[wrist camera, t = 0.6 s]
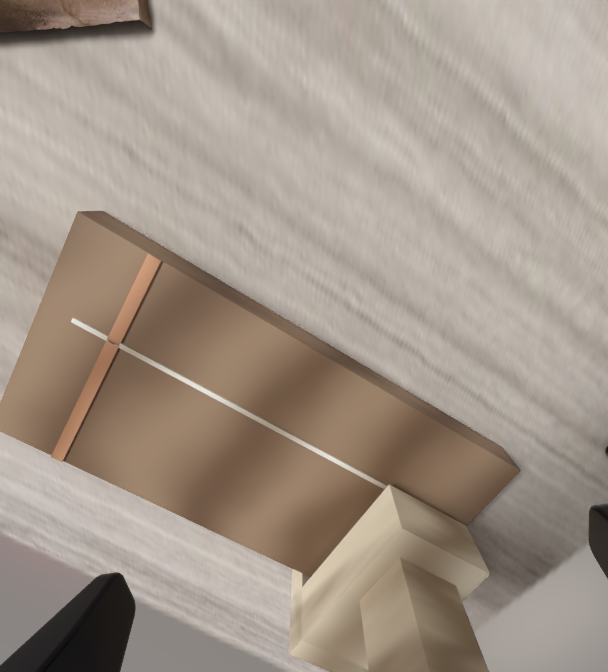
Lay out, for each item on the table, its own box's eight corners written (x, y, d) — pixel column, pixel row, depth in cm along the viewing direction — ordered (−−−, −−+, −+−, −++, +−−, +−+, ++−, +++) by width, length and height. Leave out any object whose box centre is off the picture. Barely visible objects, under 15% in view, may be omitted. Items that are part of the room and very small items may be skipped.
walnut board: (501, 447, 22) (521, 471, 20) (378, 580, 25) (384, 613, 23) (102, 211, 18) (76, 211, 16) (19, 406, 21) (-11, 427, 19)
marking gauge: (452, 497, 22) (577, 749, 12) (358, 598, 25) (394, 877, 15) (381, 458, 21) (450, 693, 11) (292, 567, 24) (281, 839, 14)
